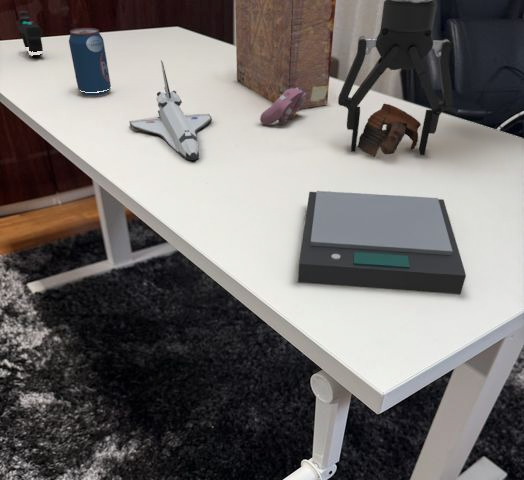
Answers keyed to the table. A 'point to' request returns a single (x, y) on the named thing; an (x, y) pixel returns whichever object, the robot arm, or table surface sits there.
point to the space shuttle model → (174, 123)
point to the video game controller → (284, 107)
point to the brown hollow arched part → (388, 130)
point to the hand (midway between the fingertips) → (387, 150)
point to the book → (285, 47)
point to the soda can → (89, 61)
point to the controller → (30, 33)
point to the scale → (380, 243)
